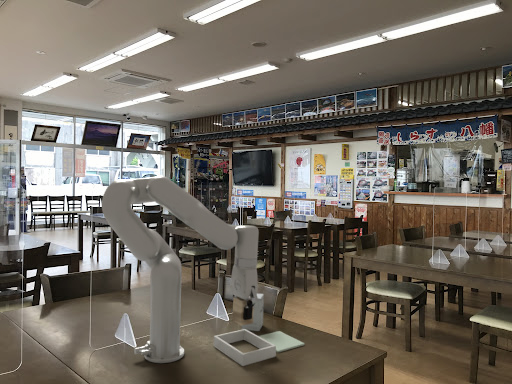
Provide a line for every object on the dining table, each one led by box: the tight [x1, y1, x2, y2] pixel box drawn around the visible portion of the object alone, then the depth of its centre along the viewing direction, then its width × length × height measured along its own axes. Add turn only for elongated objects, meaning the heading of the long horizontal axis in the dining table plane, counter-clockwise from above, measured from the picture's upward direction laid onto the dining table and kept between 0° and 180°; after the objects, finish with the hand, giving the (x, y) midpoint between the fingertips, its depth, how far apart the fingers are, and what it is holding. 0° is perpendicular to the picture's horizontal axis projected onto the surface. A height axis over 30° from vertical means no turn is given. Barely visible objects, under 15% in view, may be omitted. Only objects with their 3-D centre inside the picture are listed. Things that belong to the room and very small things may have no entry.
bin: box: [213, 329, 277, 367], centre depth 133 cm, size 13×18×4 cm
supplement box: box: [241, 293, 265, 332], centre depth 156 cm, size 7×7×13 cm
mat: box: [258, 330, 305, 353], centre depth 142 cm, size 12×14×1 cm
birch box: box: [231, 296, 254, 327], centre depth 133 cm, size 5×5×8 cm
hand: (242, 316), depth 133 cm, fingers closed on birch box, 5 cm apart
